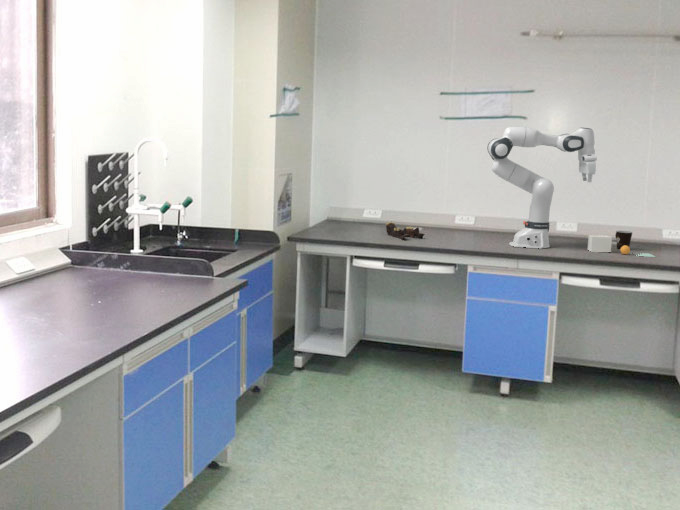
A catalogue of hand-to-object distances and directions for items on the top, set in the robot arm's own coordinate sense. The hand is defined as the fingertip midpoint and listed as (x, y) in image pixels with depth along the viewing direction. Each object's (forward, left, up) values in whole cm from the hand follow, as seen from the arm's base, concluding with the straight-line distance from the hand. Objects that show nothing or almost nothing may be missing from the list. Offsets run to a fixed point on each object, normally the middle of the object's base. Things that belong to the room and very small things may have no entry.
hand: (587, 181), depth 442 cm
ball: (+19, -17, -35) cm, 44 cm away
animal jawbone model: (-99, +19, -38) cm, 108 cm away
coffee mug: (+24, +3, -38) cm, 45 cm away
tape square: (+29, -17, -38) cm, 51 cm away
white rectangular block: (+7, -10, -38) cm, 40 cm away
